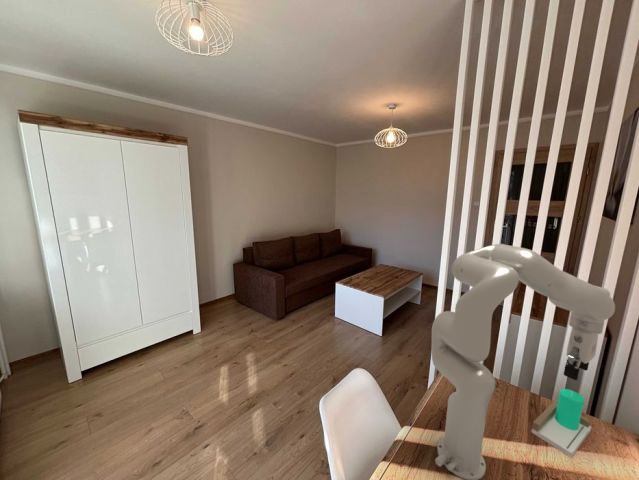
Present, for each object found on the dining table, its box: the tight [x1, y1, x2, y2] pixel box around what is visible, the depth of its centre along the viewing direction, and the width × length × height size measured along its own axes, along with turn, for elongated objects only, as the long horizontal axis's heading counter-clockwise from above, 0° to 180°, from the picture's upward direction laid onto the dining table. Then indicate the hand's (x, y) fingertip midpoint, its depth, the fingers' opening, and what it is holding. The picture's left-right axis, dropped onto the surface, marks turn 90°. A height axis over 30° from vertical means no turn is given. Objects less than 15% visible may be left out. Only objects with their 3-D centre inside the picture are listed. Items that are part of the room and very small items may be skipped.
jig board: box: [531, 400, 592, 458], centre depth 87 cm, size 18×10×4 cm, turn 122°
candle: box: [555, 388, 585, 430], centre depth 89 cm, size 6×6×12 cm
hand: (575, 372), depth 86 cm, fingers open, 9 cm apart
